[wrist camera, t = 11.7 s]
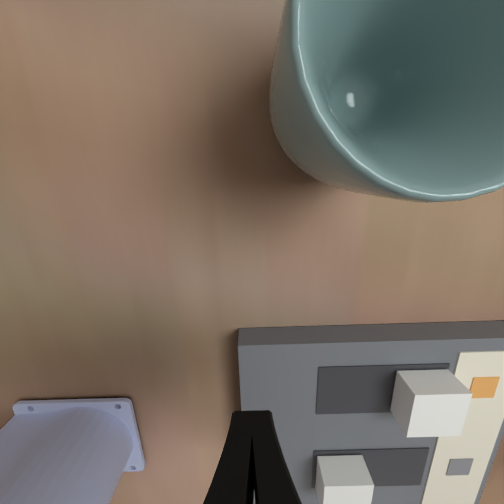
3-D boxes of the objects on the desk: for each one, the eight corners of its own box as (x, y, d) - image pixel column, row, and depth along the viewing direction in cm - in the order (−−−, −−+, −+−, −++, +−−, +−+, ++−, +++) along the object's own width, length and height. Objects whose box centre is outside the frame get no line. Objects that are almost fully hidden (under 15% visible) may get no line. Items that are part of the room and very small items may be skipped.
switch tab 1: (315, 486, 21) (322, 518, 19) (317, 456, 20) (324, 486, 18) (357, 485, 21) (368, 517, 19) (362, 455, 20) (374, 485, 18)
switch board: (249, 530, 26) (249, 561, 24) (239, 328, 19) (237, 347, 17) (444, 525, 26) (461, 556, 24) (507, 320, 19) (540, 338, 17)
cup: (337, 210, 16) (462, 261, 7) (238, 133, 15) (215, 58, 5) (427, 98, 14) (779, -52, 5) (323, 0, 13) (525, -488, 3)
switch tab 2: (390, 409, 18) (406, 437, 16) (396, 370, 17) (415, 395, 15) (438, 408, 18) (460, 436, 16) (448, 369, 17) (472, 393, 15)
